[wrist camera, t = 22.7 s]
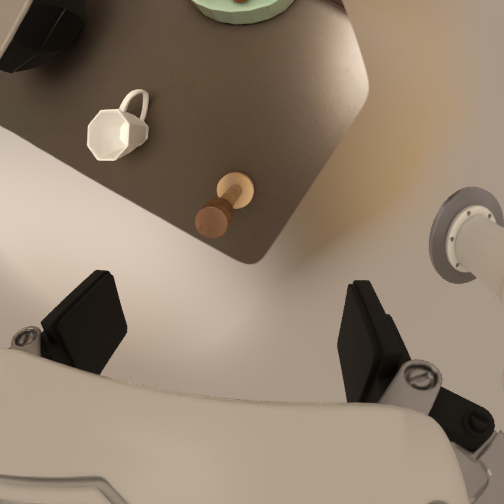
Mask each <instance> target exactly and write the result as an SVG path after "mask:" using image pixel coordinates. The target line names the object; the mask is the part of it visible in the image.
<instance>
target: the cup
mask: <svg viewBox="0 0 504 504" xmlns="http://www.w3.org/2000/svg"><path fill="white" fill-rule="evenodd" d="M140 93H143V107H142V112H141V116H140V118H138V117H136V116H135V115H133V114H130V113H127V112H126V110H127V107H128V104H129V102H130V100H131V99H132V98H133V97H134V96H136V95H137V94H140ZM148 102H149V94H148V93H147V92H146V91H144V90H142V89H137V90H133V91H131V92H130V93H129V94H128V95H127V96H126V97H125V98H124V100H123V102H122V104H121V106H120V108H119V109H111V110H100V112H99V113H98V114H97V115H96V116H95V118H94V119H93V120H92V121H91V123H90V124H89V125H88V138H87V146H88V148H89V149H90V150H91V152H92V153H93V154H94V156H95V157H96V158H97V160H106V161H115V160H117V159H119V158H121V157H122V156H124V155H126V154H128V153H130V152H131V151H133V150H134V149H135V148H136V147H137V146H141V145H142V144H143V143H144V142H145V141H146V140H147V139H148V131H149V127H148V125H147V124H146V123H145V122H144V120H145V117H146V114H147V110H148Z"/></svg>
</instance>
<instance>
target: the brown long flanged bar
mask: <svg viewBox="0 0 504 504" xmlns="http://www.w3.org/2000/svg"><path fill="white" fill-rule="evenodd" d="M217 194H218V197H217V198H213V199H211V200H210V201H209V202H208V203H207V204H206V205H205V206H204V207H203V208H202V209H201V210H200V211H199V212H198V213H197V215H196V218H195V225H196V228H197V230H198V231H199V232H200V233H201V234H202V235H203V236H205V237H207V238H218V237H220V236H222V235H223V234H224V233H225V232H226V230H227V228H228V226H229V224H230V222H231V221H232V219H233V216H234V209H238V208H242V207H244V206H246V205H247V204H249V202H250V201H251V200H252V198H253V195H254V184H253V182H252V180H251V179H250V177H249V176H247V175H246V174H244V173H242V172H230V173H228V174H226V175H225V176H224V177H222V179H221V180H220V181H219V183H218V186H217ZM233 208H234V209H233Z"/></svg>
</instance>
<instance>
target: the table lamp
mask: <svg viewBox="0 0 504 504" xmlns="http://www.w3.org/2000/svg"><path fill="white" fill-rule="evenodd" d="M84 7H85V0H0V70H2V71H5V72H9V73H13V72H18V71H24V70H28V69H31V68H34V67H37V66H39V65H41V64H43V63H45V62H46V61H48V60H49V59H51V58H53V57H54V56H56V55H57V54H59V53H61V52H62V51H64V50H66V49H67V48H69V47H70V46H71V44H72V43H73V41H74V40H75V38H76V36H77V35H78V33H79V32H80V30H81V29H82V27H83V25H84Z"/></svg>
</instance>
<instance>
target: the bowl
mask: <svg viewBox="0 0 504 504" xmlns="http://www.w3.org/2000/svg"><path fill="white" fill-rule="evenodd" d="M293 1H294V0H247V1H244V2H237V1H234V0H191V2H192V3H193V4H194V5H195V7H197V8H198V9H199V10H200V11H201V12H202V13H203V14H204V15H205V16H208V17H210V18H212V19H214V20H216V21H219V22H225V23H231V24H248V23H256V22H260V21H263V20H267V19H270V18H272V17H274V16H276V15H278V14H279V13H281V12H283V11H285V10H286V9H287V8H288V7H289V6H290V5H291V4H292V3H293Z"/></svg>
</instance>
